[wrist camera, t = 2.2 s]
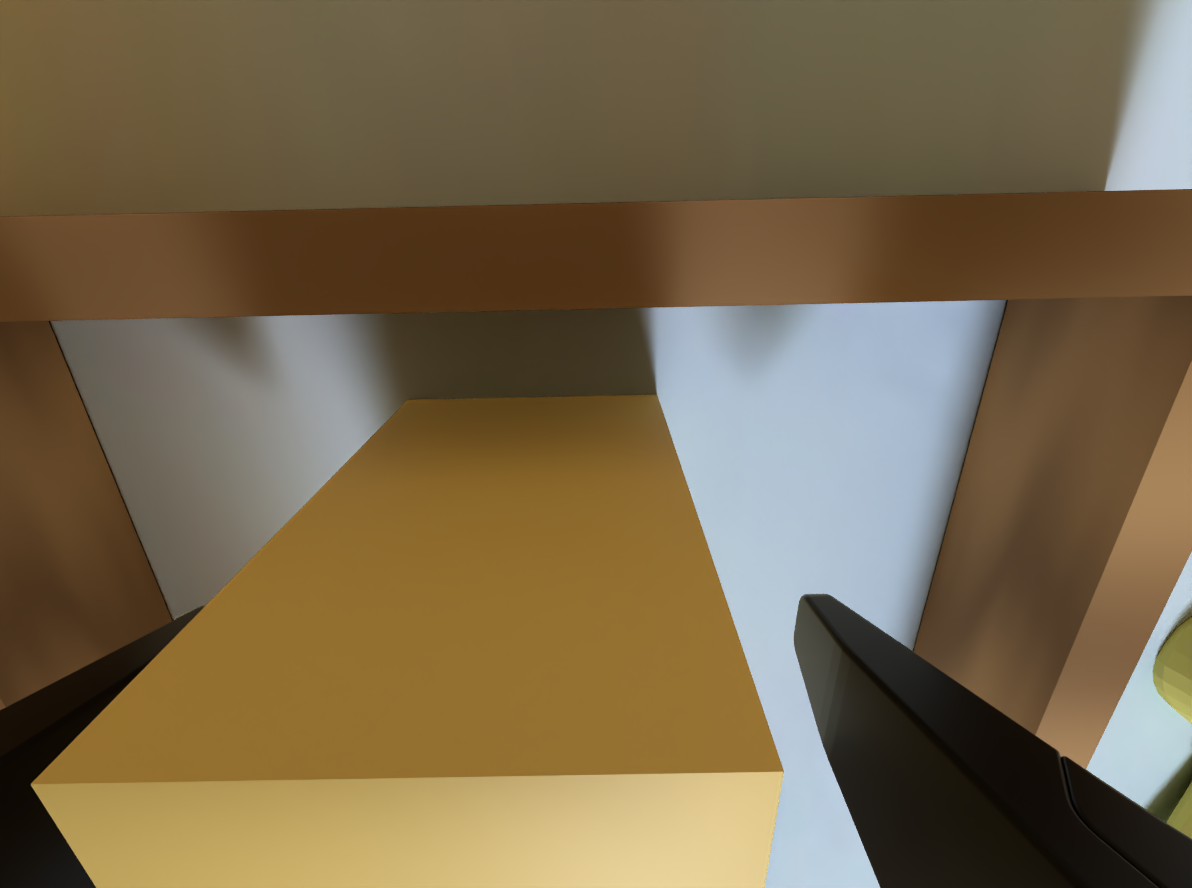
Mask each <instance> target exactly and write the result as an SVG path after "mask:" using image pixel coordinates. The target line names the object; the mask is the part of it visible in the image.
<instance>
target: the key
mask: <svg viewBox="0 0 1192 888" xmlns="http://www.w3.org/2000/svg"><path fill="white" fill-rule="evenodd" d="M1153 679H1154V684H1155V687H1156V689H1157V691H1158V694H1159V695H1160V696H1161V697H1162V698H1163V699H1164V700H1165V701H1166V702H1167V703H1168V704H1169V705H1170V706H1171V707H1172V708H1174V709H1175V710H1176V711H1177V712H1178V713H1179V714H1181V715H1182V716H1183V717H1184V718H1185V719H1186V720H1188V721H1189V722H1190V723H1192V617H1190V618H1189V619H1188V620H1186V621H1185V622H1184V623H1183V624H1181V625H1180V626H1179V627H1177V628H1176V630H1175V631H1174V632H1173V633H1172V635H1171V636H1170V637H1169V638H1168V640H1167V641H1166V642H1165V643H1164V645H1163V647H1162V649H1161V650H1160V652H1159V654H1158V655H1157V657H1156V660H1155V664H1154V668H1153ZM1166 823H1168V824H1169V825H1171V826H1172V827H1174V828H1175V829H1177V830H1179V831H1180V832H1182V833H1183V834H1185V835H1187V836H1188V837H1190V838H1191V839H1192V782H1191V783H1190V785H1189V786H1188V788H1187V790H1186V791H1185V793H1184V794H1183V796H1182V798H1181V799H1180V801H1179V802H1178V804H1177V806H1176V807H1175V809H1174V810H1173V812H1172V814H1171V815H1170V817H1169V818H1168V820H1167V822H1166Z"/></svg>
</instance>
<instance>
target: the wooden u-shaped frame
mask: <svg viewBox="0 0 1192 888" xmlns="http://www.w3.org/2000/svg"><path fill="white" fill-rule="evenodd" d="M966 300H1008V303H1007V307H1006V310H1005V314H1004V318H1003V322H1002V325H1001V329H1000V333H999V336H998V340H997V344H996V347H995V351H994V355H993V359H992V362H991V366H990V370H989V373H988V377H987V381H986V385H985V388H984V392H983V396H982V399H981V403H980V407H979V410H978V414H977V418H976V422H975V425H974V429H973V433H972V436H971V440H970V444H969V447H968V451H967V455H966V459H965V462H964V466H963V470H962V473H961V477H960V481H959V485H958V488H957V492H956V496H955V499H954V503H953V507H952V510H951V514H950V518H949V522H948V525H947V529H946V533H945V536H944V540H943V544H942V547H941V551H940V555H939V559H938V562H937V566H936V570H935V573H934V577H933V581H932V585H931V588H930V592H929V596H928V599H927V603H926V607H925V610H924V614H923V618H922V622H921V625H920V629H919V633H918V636H917V640H916V644H915V647H914V651H913V652H914V653H916V654H917V655H919V656H920V657H922V658H923V659H924V660H926V661H927V662H929V663H930V664H932V665H933V666H935V667H936V668H938V669H939V670H941V671H942V672H943V673H945V674H946V675H948V676H949V677H951V678H952V679H954V680H955V681H957V682H958V683H960V684H961V685H963V686H964V687H965V688H967V689H968V690H970V691H971V692H973V693H974V694H976V695H977V696H979V697H980V698H982V699H983V700H984V701H986V702H987V703H989V704H990V705H992V706H993V707H995V708H996V709H998V710H999V711H1001V712H1002V713H1003V714H1005V715H1006V716H1008V717H1009V718H1011V719H1012V720H1014V721H1015V722H1017V723H1018V724H1020V725H1021V726H1023V727H1024V728H1025V729H1027V730H1028V731H1030V732H1031V733H1033V734H1034V735H1036V736H1037V737H1039V738H1040V739H1042V740H1043V741H1044V742H1046V743H1047V744H1049V745H1050V746H1052V747H1053V748H1055V749H1056V750H1058V751H1059V753H1060V756H1061V757H1062V756H1066V757H1068V758H1070V759H1071V760H1073V761H1074V762H1076V763H1077V764H1078V765H1080V766H1081V767H1083V768H1084V769H1086V768H1087V766H1088V764H1089V762H1090V760H1091V758H1092V756H1093V753H1094V751H1095V749H1096V747H1097V745H1098V743H1099V741H1100V739H1101V737H1102V735H1103V733H1104V731H1105V729H1106V727H1107V725H1108V723H1109V720H1110V718H1111V716H1112V714H1113V712H1114V710H1115V708H1116V706H1117V704H1118V702H1119V700H1120V698H1121V696H1122V694H1123V692H1124V690H1125V688H1126V685H1127V683H1128V681H1129V679H1130V677H1131V675H1132V673H1133V671H1134V669H1135V667H1136V665H1137V663H1138V661H1139V659H1140V657H1141V655H1142V652H1143V650H1144V648H1145V646H1146V644H1147V642H1148V640H1149V638H1150V636H1151V634H1152V632H1153V630H1154V628H1155V626H1156V624H1157V622H1158V620H1159V617H1160V615H1161V613H1162V611H1163V609H1164V607H1165V605H1166V603H1167V601H1168V599H1169V597H1170V595H1171V593H1172V591H1173V589H1174V587H1175V584H1176V582H1177V580H1178V578H1179V576H1180V574H1181V572H1182V570H1183V568H1184V566H1185V564H1186V562H1187V560H1188V558H1189V556H1190V554H1191V552H1192V189H1177V190H1133V191H1090V192H1047V193H1004V194H961V195H918V196H875V197H832V198H789V199H746V200H703V201H660V202H617V203H574V204H530V205H487V206H444V207H401V208H358V209H315V210H272V211H229V212H186V213H143V214H100V215H57V216H14V217H0V710H1V709H3V708H5V707H7V706H9V705H11V704H13V703H15V702H17V701H19V700H21V699H23V698H25V697H26V696H28V695H30V694H32V693H34V692H36V691H38V690H40V689H42V688H44V687H46V686H48V685H50V684H52V683H54V682H56V681H57V680H59V679H61V678H63V677H65V676H67V675H69V674H71V673H73V672H75V671H77V670H79V669H81V668H83V667H85V666H87V665H88V664H90V663H92V662H94V661H96V660H98V659H100V658H102V657H104V656H106V655H108V654H110V653H112V652H114V651H116V650H117V649H119V648H121V647H123V646H125V645H127V644H129V643H131V642H133V641H135V640H137V639H139V638H141V637H143V636H145V635H147V634H148V633H150V632H152V631H154V630H156V629H158V628H160V627H162V626H164V625H166V624H168V623H170V622H172V619H171V617H170V614H169V612H168V609H167V607H166V605H165V602H164V600H163V597H162V595H161V592H160V590H159V588H158V585H157V583H156V580H155V578H154V575H153V573H152V571H151V568H150V566H149V563H148V561H147V559H146V556H145V554H144V551H143V549H142V546H141V544H140V542H139V539H138V537H137V534H136V532H135V529H134V527H133V525H132V522H131V520H130V517H129V515H128V513H127V510H126V508H125V505H124V503H123V500H122V498H121V496H120V493H119V491H118V488H117V486H116V483H115V481H114V479H113V476H112V474H111V471H110V469H109V467H108V464H107V462H106V459H105V457H104V454H103V452H102V450H101V447H100V445H99V442H98V440H97V437H96V435H95V433H94V430H93V428H92V425H91V423H90V421H89V418H88V416H87V413H86V411H85V408H84V406H83V404H82V401H81V399H80V396H79V394H78V392H77V389H76V387H75V384H74V382H73V379H72V377H71V375H70V372H69V370H68V367H67V365H66V362H65V360H64V358H63V355H62V353H61V350H60V348H59V346H58V343H57V341H56V338H55V336H54V333H53V331H52V329H51V326H50V324H49V321H58V320H104V319H149V318H195V317H240V316H285V315H331V314H376V313H422V312H467V311H512V310H558V309H603V308H648V307H694V306H739V305H785V304H830V303H875V302H921V301H966Z"/></svg>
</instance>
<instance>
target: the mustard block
mask: <svg viewBox="0 0 1192 888" xmlns="http://www.w3.org/2000/svg"><path fill="white" fill-rule="evenodd" d="M783 774H784V771H783V768H782V765H781V762H780V759H779V756H778V753H777V750H776V747H775V744H774V741H773V738H772V735H771V732H770V729H769V726H768V723H767V720H766V717H765V714H764V711H763V708H762V705H761V702H760V699H759V696H758V693H757V690H756V687H755V684H754V681H753V678H752V675H751V672H750V670H749V667H748V664H747V661H746V658H745V655H744V652H743V649H742V646H741V643H740V640H739V637H738V634H737V631H736V628H735V625H734V622H733V619H732V616H731V613H730V610H729V607H728V604H727V601H726V598H725V595H724V592H723V589H722V586H721V583H720V580H719V577H718V574H717V572H716V569H715V566H714V563H713V560H712V557H711V554H710V551H709V548H708V545H707V542H706V539H705V536H704V533H703V530H702V527H701V524H700V521H699V518H698V515H697V512H696V509H695V506H694V503H693V500H692V497H691V494H690V491H689V488H688V485H687V482H686V479H685V476H684V473H683V471H682V468H681V465H680V462H679V459H678V456H677V453H676V450H675V447H674V444H673V441H672V438H671V435H670V432H669V429H668V426H667V423H666V420H665V417H664V414H663V411H662V408H661V405H660V402H659V399H658V396H657V395H612V396H565V397H518V398H470V399H423V400H407V401H406V402H405V403H404V404H403V405H402V406H401V407H400V408H399V409H398V410H397V411H396V412H395V413H394V414H393V415H392V417H391V418H390V419H389V420H388V421H387V422H386V423H385V424H384V425H383V426H382V427H381V428H380V429H379V430H378V431H377V432H376V433H375V434H374V435H373V436H372V437H371V438H370V439H369V440H368V441H367V442H366V443H365V444H364V445H363V446H362V447H361V448H360V449H359V450H358V451H357V452H356V453H355V454H354V455H353V456H352V457H351V458H350V459H349V460H348V461H347V462H346V463H345V464H344V465H343V466H342V467H341V468H340V469H339V470H338V472H337V473H336V474H335V475H334V476H333V477H332V478H331V479H330V480H329V481H328V482H327V483H326V484H325V485H324V486H323V487H322V488H321V489H320V490H319V491H318V492H317V493H316V494H315V495H314V496H313V497H312V498H311V499H310V500H309V501H308V502H307V503H306V504H305V505H304V506H303V507H302V508H301V509H300V510H299V511H298V512H297V513H296V514H295V515H294V516H293V517H292V518H291V519H290V520H289V521H288V522H287V523H286V524H285V526H284V527H283V528H282V529H281V530H280V531H279V532H278V533H277V534H276V535H275V536H274V537H273V538H272V539H271V540H270V541H269V542H268V543H267V544H266V545H265V546H264V547H263V548H262V549H261V550H260V551H259V552H258V553H257V554H256V555H255V556H254V557H253V558H252V559H251V560H250V561H249V562H248V563H247V564H246V565H245V566H244V567H243V568H242V569H241V570H240V571H239V572H238V573H237V574H236V575H235V576H234V577H233V578H232V579H231V581H230V582H229V583H228V584H227V585H226V586H225V587H224V588H223V589H222V590H221V591H220V592H219V593H218V594H217V595H216V596H215V597H214V598H213V599H212V600H211V601H210V602H209V603H208V604H207V605H206V606H205V607H204V608H203V609H202V610H201V611H200V612H199V613H198V614H197V615H196V616H195V617H194V618H193V619H192V620H191V621H190V622H189V623H188V624H187V625H186V626H185V627H184V628H183V629H182V630H181V631H180V632H179V633H178V634H177V636H176V637H175V638H174V639H173V640H172V641H171V642H170V643H169V644H168V645H167V646H166V647H165V648H164V649H163V650H162V651H161V652H160V653H159V654H158V655H157V656H156V657H155V658H154V659H153V660H152V661H151V662H150V663H149V664H148V665H147V666H146V667H145V668H144V669H143V670H142V671H141V672H140V673H139V674H138V675H137V676H136V677H135V678H134V679H133V680H132V681H131V682H130V683H129V684H128V685H127V686H126V687H125V688H124V690H123V691H122V692H121V693H120V694H119V695H118V696H117V697H116V698H115V699H114V700H113V701H112V702H111V703H110V704H109V705H108V706H107V707H106V708H105V709H104V710H103V711H102V712H101V713H100V714H99V715H98V716H97V717H96V718H95V719H94V720H93V721H92V722H91V723H90V724H89V725H88V726H87V727H86V728H85V729H84V730H83V731H82V732H81V733H80V734H79V735H78V736H77V737H76V738H75V739H74V740H73V741H72V742H71V743H70V745H69V746H68V747H67V748H66V749H65V750H64V751H63V752H62V753H61V754H60V755H59V756H58V757H57V758H56V759H55V760H54V761H53V762H52V763H51V764H50V765H49V766H48V767H47V768H46V769H45V770H44V771H43V772H42V773H41V774H40V775H39V776H38V777H37V778H36V779H35V780H34V781H33V782H32V783H31V786H32V788H33V789H34V791H35V792H36V794H37V795H38V797H39V799H40V800H41V802H42V803H43V805H44V806H45V808H46V810H47V811H48V813H49V814H50V816H51V817H52V819H53V821H54V822H55V824H56V825H57V827H58V828H59V830H60V831H61V833H62V835H63V836H64V838H65V839H66V841H67V842H68V844H69V846H70V847H71V849H72V850H73V852H74V853H75V855H76V857H77V858H78V860H79V861H80V863H81V864H82V866H83V868H84V869H85V871H86V872H87V874H88V875H89V877H90V879H91V880H92V882H93V883H94V885H95V886H96V888H765V882H766V876H767V870H768V864H769V858H770V852H771V846H772V840H773V834H774V828H775V822H776V816H777V810H778V804H779V798H780V792H781V786H782V780H783Z"/></svg>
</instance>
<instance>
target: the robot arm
mask: <svg viewBox="0 0 1192 888" xmlns="http://www.w3.org/2000/svg"><path fill="white" fill-rule="evenodd" d="M205 606H206V605H205ZM205 606H201V607H199V608H197V609H195V610H193V611H191V612H189V613H187V614H185V615H183V616H181V617H179V618H178V619H176V620H174V621H172V622H170V623H168V624H166V625H164V626H162V627H160V628H158V629H156V630H154V631H152V632H150V633H148V634H147V635H145V636H143V637H141V638H139V639H137V640H135V641H133V642H131V643H129V644H127V645H125V646H123V647H121V648H119V649H117V650H116V651H114V652H112V653H110V654H108V655H106V656H104V657H102V658H100V659H98V660H96V661H94V662H92V663H90V664H88V665H87V666H85V667H83V668H81V669H79V670H77V671H75V672H73V673H71V674H69V675H67V676H65V677H63V678H61V679H59V680H57V681H56V682H54V683H52V684H50V685H48V686H46V687H44V688H42V689H40V690H38V691H36V692H34V693H32V694H30V695H28V696H26V697H25V698H23V699H21V700H19V701H17V702H15V703H13V704H11V705H9V706H7V707H5V708H3V709H1V710H0V888H96V886H95V885H94V883H93V882H92V880H91V879H90V877H89V875H88V874H87V872H86V871H85V869H84V868H83V866H82V864H81V863H80V861H79V860H78V858H77V857H76V855H75V853H74V852H73V850H72V849H71V847H70V846H69V844H68V842H67V841H66V839H65V838H64V836H63V835H62V833H61V831H60V830H59V828H58V827H57V825H56V824H55V822H54V821H53V819H52V817H51V816H50V814H49V813H48V811H47V810H46V808H45V806H44V805H43V803H42V802H41V800H40V799H39V797H38V795H37V794H36V792H35V791H34V789H33V788H32V786H31V783H32V782H33V781H34V780H35V779H36V778H37V777H38V776H39V775H40V774H41V773H42V772H43V771H44V770H45V769H46V768H47V767H48V766H49V765H50V764H51V763H52V762H53V761H54V760H55V759H56V758H57V757H58V756H59V755H60V754H61V753H62V752H63V751H64V750H65V749H66V748H67V747H68V746H69V745H70V743H71V742H72V741H73V740H74V739H75V738H76V737H77V736H78V735H79V734H80V733H81V732H82V731H83V730H84V729H85V728H86V727H87V726H88V725H89V724H90V723H91V722H92V721H93V720H94V719H95V718H96V717H97V716H98V715H99V714H100V713H101V712H102V711H103V710H104V709H105V708H106V707H107V706H108V705H109V704H110V703H111V702H112V701H113V700H114V699H115V698H116V697H117V696H118V695H119V694H120V693H121V692H122V691H123V690H124V688H125V687H126V686H127V685H128V684H129V683H130V682H131V681H132V680H133V679H134V678H135V677H136V676H137V675H138V674H139V673H140V672H141V671H142V670H143V669H144V668H145V667H146V666H147V665H148V664H149V663H150V662H151V661H152V660H153V659H154V658H155V657H156V656H157V655H158V654H159V653H160V652H161V651H162V650H163V649H164V648H165V647H166V646H167V645H168V644H169V643H170V642H171V641H172V640H173V639H174V638H175V637H176V636H177V634H178V633H179V632H180V631H181V630H182V629H183V628H184V627H185V626H186V625H187V624H188V623H189V622H190V621H191V620H192V619H193V618H194V617H195V616H196V615H197V614H198V613H199V612H200V611H201V610H202V609H203V608H204V607H205ZM794 646H795V651H796V655H797V658H798V662H799V665H800V669H801V672H802V676H803V679H804V683H805V686H806V689H807V693H808V696H809V700H810V703H811V707H812V710H813V714H814V717H815V721H816V724H817V728H818V731H819V734H820V737H821V741H822V744H823V747H824V749H825V752H826V754H827V757H828V760H829V762H830V765H831V767H832V770H833V772H834V775H835V777H836V780H837V782H838V784H839V787H840V789H841V792H842V794H843V797H844V799H845V802H846V804H847V807H848V809H849V812H850V814H851V816H852V819H853V821H854V824H855V826H856V829H857V831H858V834H859V836H860V839H861V841H862V843H863V846H864V848H865V851H866V853H867V856H868V858H869V861H870V863H871V866H872V868H873V870H874V873H875V875H876V878H877V880H878V883H879V885H880V888H1192V839H1191V838H1190V837H1188V836H1187V835H1185V834H1183V833H1182V832H1180V831H1179V830H1177V829H1175V828H1174V827H1172V826H1171V825H1169V824H1168V823H1166V822H1164V821H1163V820H1161V819H1160V818H1158V817H1156V816H1155V815H1153V814H1152V813H1150V812H1149V811H1147V810H1146V809H1144V808H1143V807H1141V806H1140V805H1138V804H1137V803H1135V802H1134V801H1132V800H1131V799H1129V798H1128V797H1126V796H1125V795H1123V794H1122V793H1120V792H1119V791H1117V790H1116V789H1114V788H1113V787H1111V786H1110V785H1108V784H1106V783H1105V782H1103V781H1102V780H1100V779H1099V778H1098V777H1096V776H1095V775H1093V774H1092V773H1090V772H1089V771H1087V770H1086V769H1084V768H1083V767H1081V766H1080V765H1078V764H1077V763H1076V762H1074V761H1073V760H1071V759H1070V758H1068V757H1066V756H1062V757H1061V756H1060V753H1059V751H1058V750H1056V749H1055V748H1053V747H1052V746H1050V745H1049V744H1047V743H1046V742H1044V741H1043V740H1042V739H1040V738H1039V737H1037V736H1036V735H1034V734H1033V733H1031V732H1030V731H1028V730H1027V729H1025V728H1024V727H1023V726H1021V725H1020V724H1018V723H1017V722H1015V721H1014V720H1012V719H1011V718H1009V717H1008V716H1006V715H1005V714H1003V713H1002V712H1001V711H999V710H998V709H996V708H995V707H993V706H992V705H990V704H989V703H987V702H986V701H984V700H983V699H982V698H980V697H979V696H977V695H976V694H974V693H973V692H971V691H970V690H968V689H967V688H965V687H964V686H963V685H961V684H960V683H958V682H957V681H955V680H954V679H952V678H951V677H949V676H948V675H946V674H945V673H943V672H942V671H941V670H939V669H938V668H936V667H935V666H933V665H932V664H930V663H929V662H927V661H926V660H924V659H923V658H922V657H920V656H919V655H917V654H916V653H914V652H913V651H911V650H910V649H908V648H907V647H905V646H904V645H902V644H901V643H900V642H898V641H897V640H895V639H894V638H892V637H891V636H889V635H888V634H886V633H885V632H883V631H882V630H881V629H879V628H878V627H876V626H875V625H873V624H872V623H870V622H869V621H867V620H866V619H864V618H863V617H862V616H860V615H859V614H857V613H856V612H854V611H853V610H851V609H850V608H848V607H847V606H845V605H844V604H842V603H841V602H840V601H838V600H837V599H835V598H834V597H832V596H830V595H828V594H805V595H803V596H802V597H801V599H800V601H799V605H798V612H797V618H796V625H795V631H794Z"/></svg>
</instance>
